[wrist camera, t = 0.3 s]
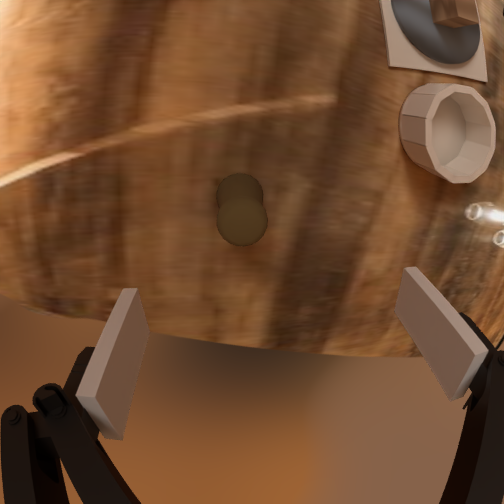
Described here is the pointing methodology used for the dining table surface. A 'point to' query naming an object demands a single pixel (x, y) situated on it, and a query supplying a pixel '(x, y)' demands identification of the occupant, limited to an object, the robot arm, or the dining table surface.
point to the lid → (440, 27)
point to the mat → (411, 57)
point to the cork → (241, 210)
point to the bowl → (448, 131)
